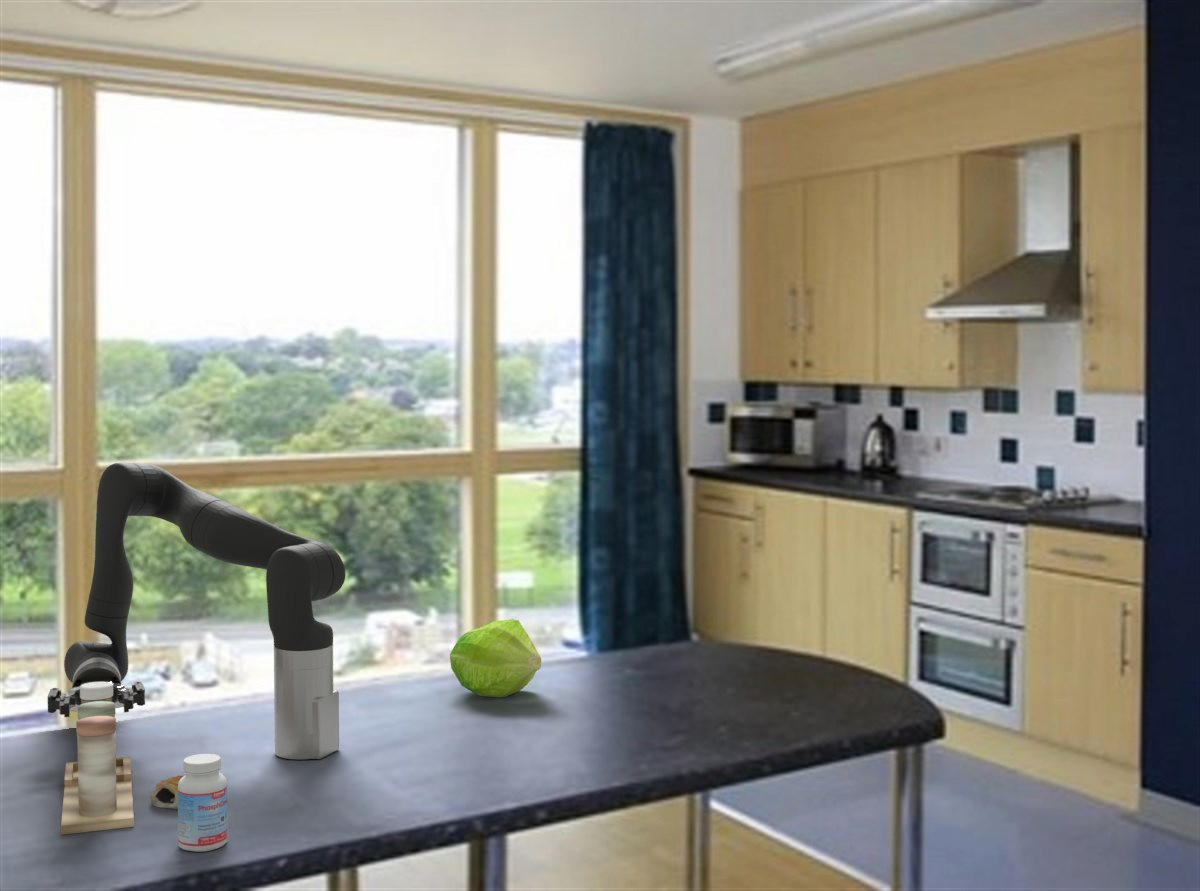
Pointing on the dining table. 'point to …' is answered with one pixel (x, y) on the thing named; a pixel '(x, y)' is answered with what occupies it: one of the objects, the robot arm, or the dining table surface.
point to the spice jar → (96, 692)
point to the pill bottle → (202, 804)
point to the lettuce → (495, 659)
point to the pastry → (166, 793)
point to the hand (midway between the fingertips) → (97, 708)
